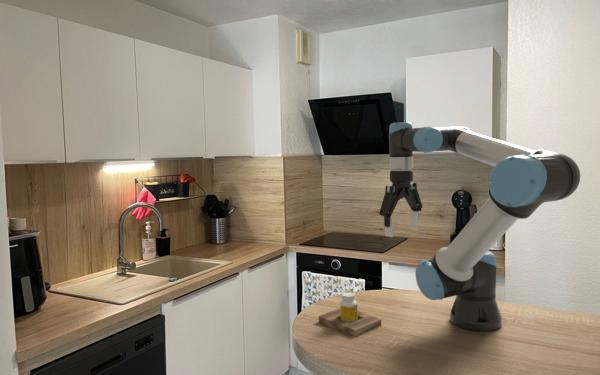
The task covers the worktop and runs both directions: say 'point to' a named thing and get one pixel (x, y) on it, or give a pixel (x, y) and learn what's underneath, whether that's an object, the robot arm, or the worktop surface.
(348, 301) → the supplement bottle
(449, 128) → the robot arm
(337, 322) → the socket board
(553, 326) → the worktop surface
